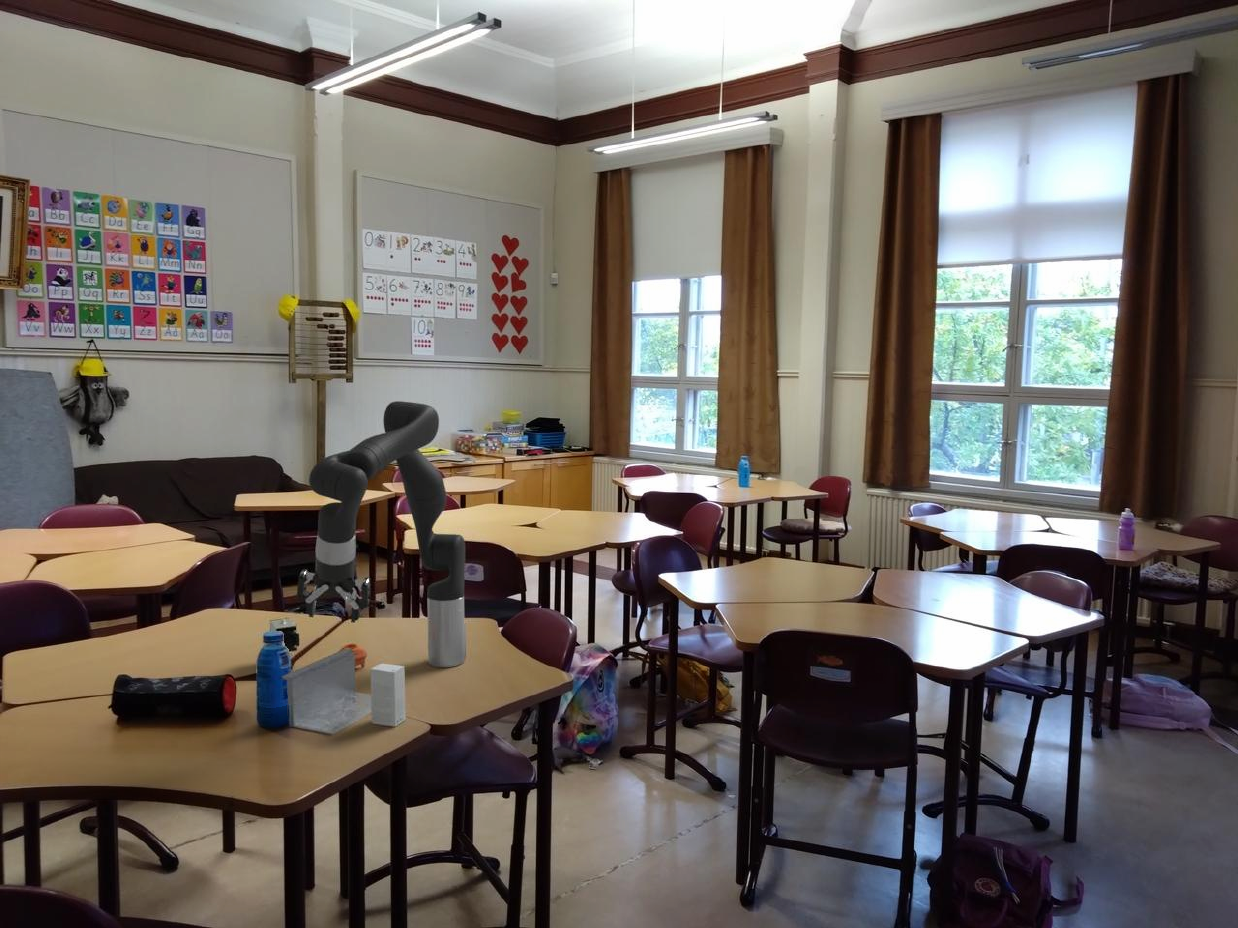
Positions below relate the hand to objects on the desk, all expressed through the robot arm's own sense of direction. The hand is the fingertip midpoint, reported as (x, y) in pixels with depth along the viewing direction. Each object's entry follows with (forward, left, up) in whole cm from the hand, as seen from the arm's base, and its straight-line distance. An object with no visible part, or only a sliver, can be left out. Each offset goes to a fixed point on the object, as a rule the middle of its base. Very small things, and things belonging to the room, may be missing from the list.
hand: (333, 617), depth 183 cm
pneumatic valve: (-26, -37, -24) cm, 52 cm away
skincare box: (-6, +9, -24) cm, 26 cm away
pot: (-30, -20, -24) cm, 44 cm away
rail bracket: (-6, -4, -24) cm, 25 cm away
